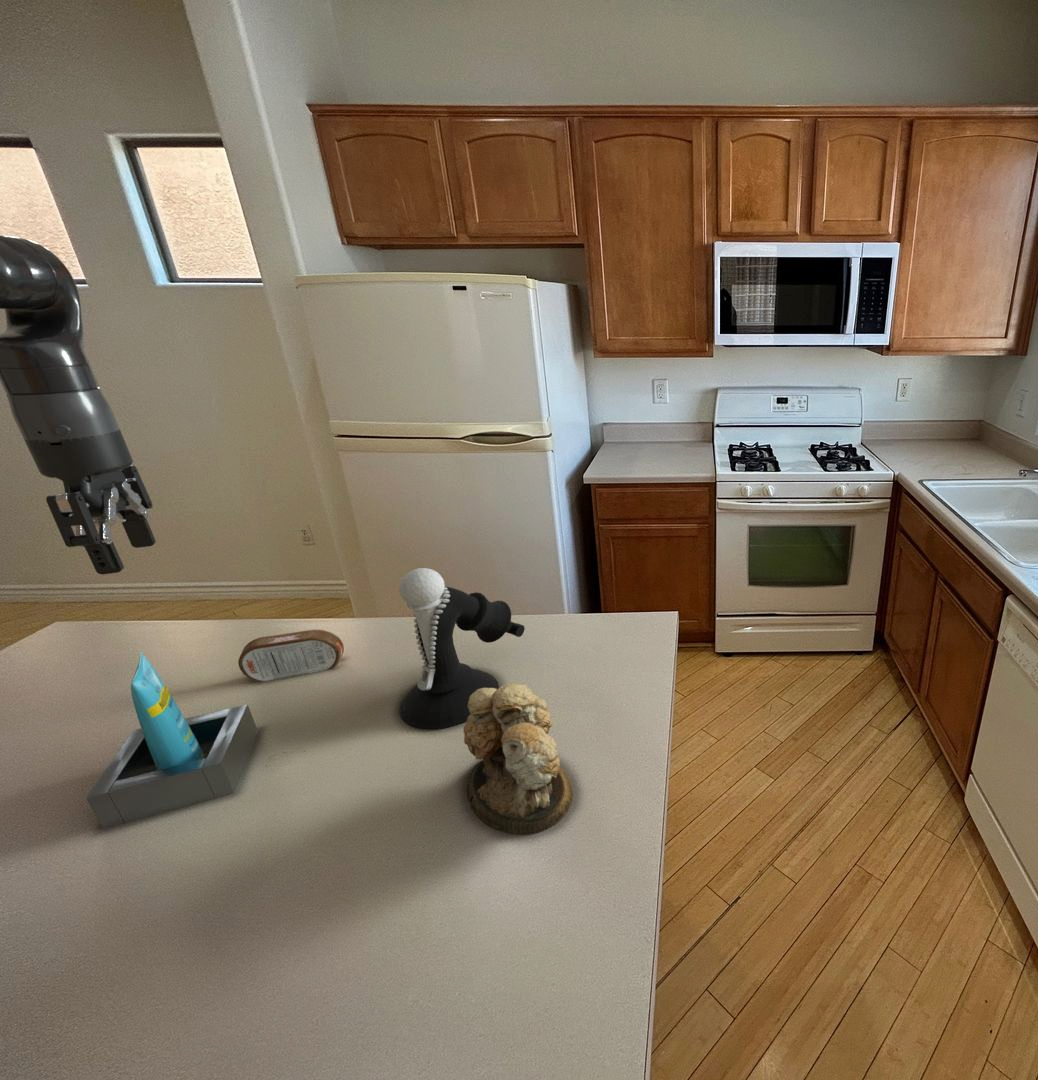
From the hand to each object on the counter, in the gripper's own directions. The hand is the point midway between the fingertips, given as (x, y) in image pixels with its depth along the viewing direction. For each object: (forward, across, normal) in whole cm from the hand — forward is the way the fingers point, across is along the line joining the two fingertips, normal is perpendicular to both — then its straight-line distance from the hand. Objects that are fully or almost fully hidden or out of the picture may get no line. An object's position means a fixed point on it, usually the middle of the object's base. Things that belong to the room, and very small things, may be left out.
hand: (129, 558), depth 70 cm
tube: (+32, +5, -1) cm, 32 cm away
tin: (+32, -17, +7) cm, 37 cm away
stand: (+32, +5, -1) cm, 32 cm away
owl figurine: (+32, +26, +40) cm, 58 cm away
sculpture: (+32, -1, +36) cm, 48 cm away
